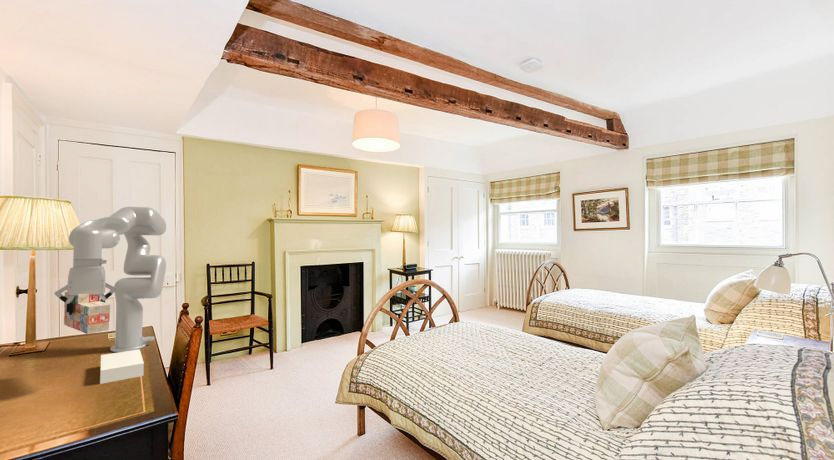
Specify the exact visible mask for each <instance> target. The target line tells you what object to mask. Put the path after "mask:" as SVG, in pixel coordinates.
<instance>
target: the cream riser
mask: <svg viewBox="0 0 834 460" xmlns="http://www.w3.org/2000/svg"><path fill="white" fill-rule="evenodd" d="M144 370H145V362H144V358H143V356H142V352H141V349H137V350H132V351H125V352H113V353H105V354H101V355H100V373H99V375H100V376H99V385H103V384H107V383H112V382H118V381H123V380H127V379H133V378H139V377H144V373H145V371H144Z"/></svg>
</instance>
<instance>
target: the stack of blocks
mask: <svg viewBox="0 0 834 460" xmlns="http://www.w3.org/2000/svg"><path fill="white" fill-rule="evenodd" d="M64 296H65V297H66V298H68V297H69V295H68V294H67V291H64ZM100 300H101V298H100V297H99V295H89V294H81V295H77V296H75V297H74V298H73V300H72V315H69V312H67V313H66V310H67V304H66V303H65V302H64V301H63V302H64V303H63V304H64V305H63V308H64V311H63V312H64V316H63V325H64V326H67V327H68V328H71V329H74V330H75V331H76V330H77V331H79V332H81V333H84V334H86V335H88V334H94V333H100V332H105V331H109V330H110V315H111V303H108V302H106V301H105V302H101V301H100Z"/></svg>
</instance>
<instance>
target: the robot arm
mask: <svg viewBox="0 0 834 460" xmlns="http://www.w3.org/2000/svg"><path fill="white" fill-rule="evenodd" d="M166 231H167V222H166V220H165V219H164V218H163V217H162V215H161V214H160V213H159V212H158V211H157V210H155V209H154V208H152V207H149V206H148V207H146V206H145V207H144V206H142V207H141V206H124V207H122V208H120V209H118V210H116V212H115V213H113V214H111V215H109V216H105V217H103V218H101V217H100V218H97V219H93V220H88V221H85V222H82V223H81V224H79V225H77V226H75V227H74V228H73V229H72V230H71V232H70V234H69V236H68V241H69V242H68V243H69V244H70V245H71V246H72V247H73V251H72V252H73V253H72V255H73V257H72V259H73V260H72V267H70V268H69V271H68V276H67V285H65V286H62V287H61V288H59V289H58V290H56V291H54V295H55V296H56V297H57V298H58V299H59V300H61V301H62V302H65V303H66V304H67V310H66V313H67V312H69V315H72V300H73V298H74V297H75V296H77V295H81V294H89V295H99V297H100V300H99V301H101V302H105V303H106V301H107V299H109V298H110V297H111V296H112V295H113V294H114V297H115V309H116V310H115V331H114V332H115V333H114V334H115V337H114V345H112V346H111V347H110V351H111V352H113V353H119V352H125V351H132V350H138V349H140V350H141V349H143V348H145V347H147V342H152V341H155V336H153V335H152V336H150V335H149V336H144V335H143V317H144V314H143V313H144V307H143V305H142V303H141V302H140V299H141V300H142V299H143V300H144V299H155V298H156V299H157V298H158V297H160V295H161V294H162V291H163V286H164V282H165V274H166V271H167V270H166V268H167V261H166V259H165V258H164V256H162V255H157V254H152V255H151V254H150V252H151V245H150V242H149V241H148V240H147V239H146V238H145V237H144V236H162V235H163V234H165V232H166ZM120 235H124V237H125V240H126V243H127V251H126V254H125V258H124V262H123V273H124V274H125V275H128V276H134V277H124V278H120V279H117V281H116V282H115V283H114V285H111V284H110V283H107V282H106V271H105V267H104V266H102V265H104V264H107V259H103V258H102V254H103V253H102V249H111V248H115V247H116V246H118V244H119V242H120V240H121V237H120ZM136 276H145V277H136ZM146 276H150V277H146ZM106 288H107V290H109V291H108V292H107V293H106ZM65 292H67V294H68V295H69V297H68V298H66V297H65V295H63V294H62V293H65ZM104 293H106V294H104Z"/></svg>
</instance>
